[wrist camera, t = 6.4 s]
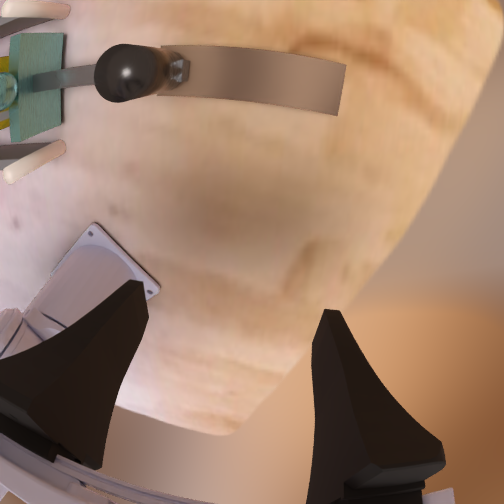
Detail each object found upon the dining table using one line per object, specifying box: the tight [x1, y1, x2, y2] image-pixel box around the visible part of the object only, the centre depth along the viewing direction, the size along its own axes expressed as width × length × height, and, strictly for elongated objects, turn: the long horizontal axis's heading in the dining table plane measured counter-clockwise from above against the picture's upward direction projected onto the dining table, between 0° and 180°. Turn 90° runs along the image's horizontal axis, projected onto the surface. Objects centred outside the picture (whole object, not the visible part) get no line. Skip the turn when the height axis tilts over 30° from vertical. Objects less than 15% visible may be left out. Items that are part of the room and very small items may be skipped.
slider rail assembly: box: [0, 33, 190, 142], centre depth 13 cm, size 12×7×8 cm, turn 83°
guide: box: [157, 45, 346, 116], centre depth 15 cm, size 10×3×2 cm, turn 83°
